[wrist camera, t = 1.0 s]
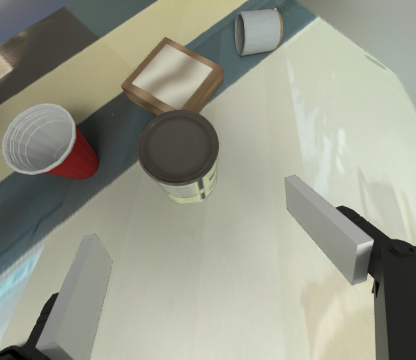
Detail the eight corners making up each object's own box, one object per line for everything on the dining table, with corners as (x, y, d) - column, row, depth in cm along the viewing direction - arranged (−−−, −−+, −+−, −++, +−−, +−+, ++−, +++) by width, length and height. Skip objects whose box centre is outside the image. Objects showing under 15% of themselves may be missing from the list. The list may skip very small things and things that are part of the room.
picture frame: (128, 98, 47) (120, 85, 43) (168, 52, 50) (165, 35, 46) (183, 132, 45) (181, 121, 41) (222, 82, 48) (223, 66, 44)
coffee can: (160, 152, 44) (138, 110, 30) (215, 150, 44) (216, 107, 30) (159, 206, 41) (134, 186, 27) (217, 204, 41) (220, 183, 27)
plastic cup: (48, 150, 44) (-9, 116, 33) (103, 131, 45) (66, 92, 34) (60, 202, 41) (1, 185, 30) (118, 180, 42) (83, 155, 31)
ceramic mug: (277, 57, 50) (289, 23, 42) (241, 64, 49) (246, 31, 42) (263, 21, 53) (272, -16, 45) (229, 28, 52) (231, -9, 45)
